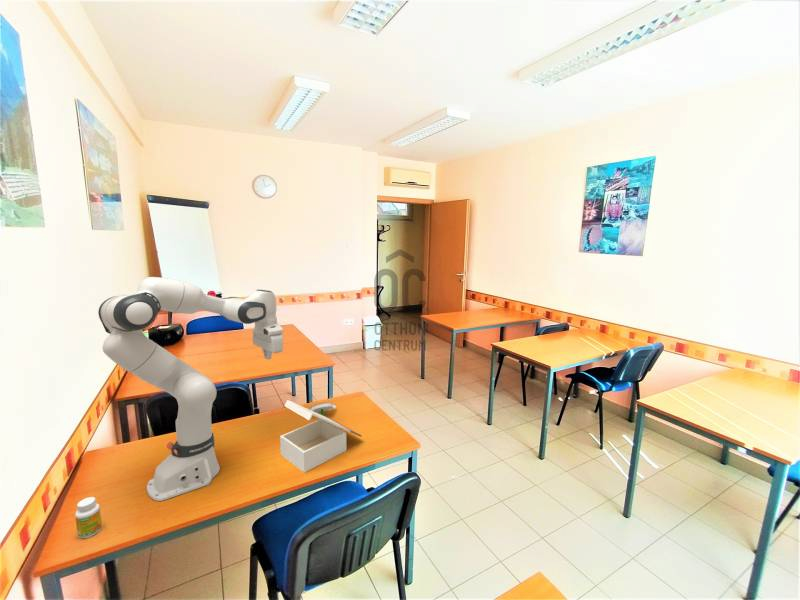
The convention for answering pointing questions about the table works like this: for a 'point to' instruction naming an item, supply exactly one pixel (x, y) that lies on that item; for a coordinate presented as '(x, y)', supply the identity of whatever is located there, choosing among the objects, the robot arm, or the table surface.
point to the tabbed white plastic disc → (322, 407)
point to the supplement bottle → (88, 518)
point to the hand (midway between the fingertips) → (267, 358)
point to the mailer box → (313, 444)
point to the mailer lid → (308, 415)
